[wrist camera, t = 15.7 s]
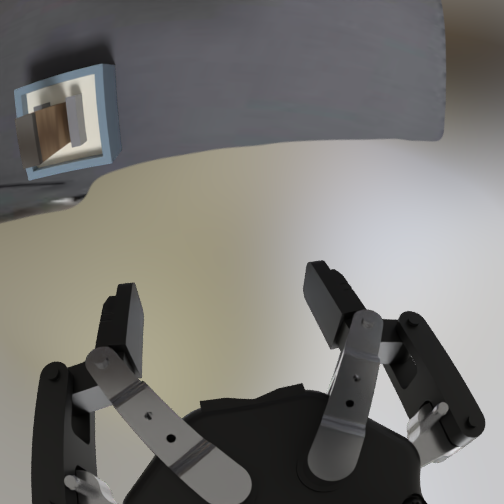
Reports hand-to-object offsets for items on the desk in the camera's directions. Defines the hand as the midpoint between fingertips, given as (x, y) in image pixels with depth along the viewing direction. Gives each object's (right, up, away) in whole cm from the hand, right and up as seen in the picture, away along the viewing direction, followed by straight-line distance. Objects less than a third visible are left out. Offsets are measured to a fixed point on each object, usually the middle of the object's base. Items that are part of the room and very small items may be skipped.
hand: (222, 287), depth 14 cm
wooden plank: (-21, +17, +14) cm, 30 cm away
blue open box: (-22, +20, +18) cm, 35 cm away
